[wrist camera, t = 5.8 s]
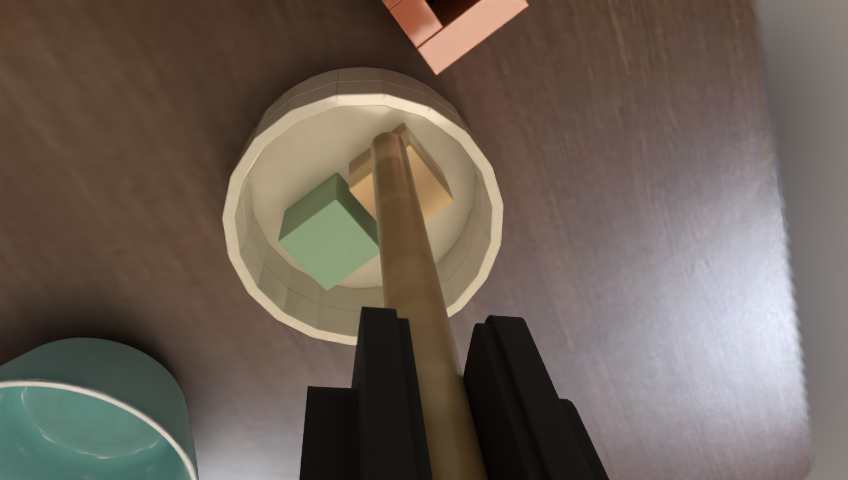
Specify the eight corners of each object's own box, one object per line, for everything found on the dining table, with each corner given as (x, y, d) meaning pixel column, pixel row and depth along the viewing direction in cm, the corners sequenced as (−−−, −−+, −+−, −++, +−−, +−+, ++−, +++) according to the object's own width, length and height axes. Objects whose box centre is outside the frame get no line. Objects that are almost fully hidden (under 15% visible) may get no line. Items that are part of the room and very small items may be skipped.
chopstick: (362, 145, 22) (401, 798, 5) (391, 124, 21) (516, 737, 5) (384, 172, 22) (479, 841, 6) (412, 151, 22) (587, 788, 6)
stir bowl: (189, 168, 37) (161, 211, 31) (386, 11, 34) (392, 30, 28) (346, 326, 43) (346, 385, 37) (525, 204, 40) (552, 249, 34)
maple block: (348, 163, 37) (348, 189, 33) (403, 121, 36) (410, 143, 32) (390, 213, 38) (394, 243, 35) (445, 174, 37) (454, 201, 34)
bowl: (154, 509, 48) (119, 616, 41) (-64, 421, 43) (-151, 526, 35) (269, 370, 43) (252, 463, 36) (40, 251, 38) (-34, 332, 31)
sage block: (284, 210, 37) (277, 241, 34) (337, 171, 37) (335, 198, 33) (328, 257, 39) (326, 291, 36) (380, 220, 38) (383, 251, 35)
